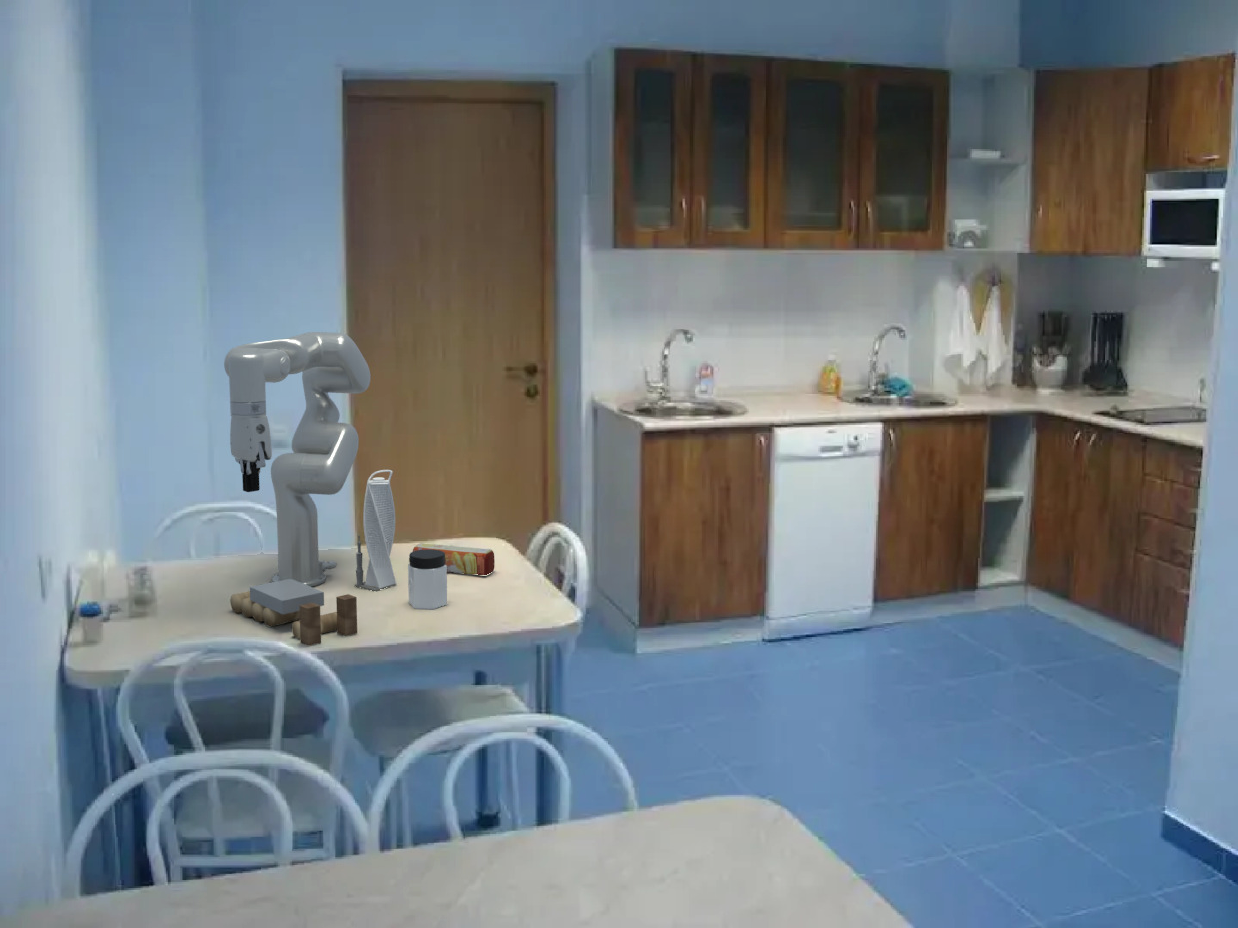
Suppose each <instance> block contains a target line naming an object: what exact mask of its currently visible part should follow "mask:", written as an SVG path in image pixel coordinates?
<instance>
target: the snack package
mask: <svg viewBox="0 0 1238 928" xmlns="http://www.w3.org/2000/svg"><path fill="white" fill-rule="evenodd" d="M426 549H431V550H440V551H443V552H444V553H445V565H446V566H447V573H451V572H454V573H453V574H460V573H464V574H463V575H467V574H478V575H487V574H489V573H491V572H492V573H493V572H494V570H495V567H496V565H495V563H496V562H495V551H494V550H493V549H491V548H479V547H470V546H469V547H466V546H456V545H455V546H454V545H443V544H437V543H435V544H434V543H433V544H432V543H431V544H430V543H424V542H420V543H418V544H416V545H415V546H414V547H413V549H412V551H411V552H413V551H417V550H426ZM492 573H491V574H492Z"/></svg>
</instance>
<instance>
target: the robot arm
mask: <svg viewBox="0 0 1238 928" xmlns="http://www.w3.org/2000/svg"><path fill="white" fill-rule="evenodd" d="M223 365H224V371H225V374H226V375H227V376H228V381H229V383H228V385H229V402H230V403H229V404H230V432H229V433H230V434H229V435H230V439H229V441H230V442H229V443H230V452H231V456H232V457H234V459H235V462H236V463H238V464H239V466H240V472H241V474H242V475H241V476H242V477H241V478H242V479H241V480H242V491H243V492H246V493H252V492H258V491H260V473H261V469H262V468H265V467H266V461H269V460H271V459H272V458H273V457H272V455H273V451H272V449H273V448H272V439H271V438H272V437H271V431H270V425H269V420H268V416H267V402H266V401H267V400H266V399H267V397H266V393H267V392H266V383H280V382H282V381H284V380H285V379H286V378H287V377H288V376H289V375H295V374H299V373H302V375H301V377H302V378H301V379H302V386H303V392H304V393H303V395H304V399H305V410H304V412H303V414H302V417H301V419H300V421H299V423H298V425H297V427H296V429H295V431H294V434H293V437H292V440H291V450H292V452H287V453H282V454H280V455H278V456H277V457H276V458H274V460H273V461H272V464H271V467H270V475H271V476H270V478H271V482H272V487H273V492H274V496H275V497H274V498H275V508H276V531H277V533H276V534H277V535H276V537H277V559H278V560H277V562H278V566H277V567H278V573H277V574H275V575H274V576H273V577H272V578H271V579H272V580H271V582H277V581H282V580H287V579H293V580H295V581H298V582H300V583H303V584H305V585H307V586H310V587H312V588H313V587H316V586H319V585H322V584H323V583H325V582H326V577H327V576H326V574H325V573H324V572H326V570H332V569H336V568H337V563H336V561H335V560H330V561H325V560H320V557H319V556H320V555H319V530H318V529H319V525H318V523H319V522H318V521H319V520H318V509H317V506H316V504H315V501H314V499H313V498H312V496H311V495H326V496H327V495H330V496H331V495H336V494H338V493H340V491H341V490H342V489H343V487H344V485H345V483H346V481H347V479H348V476H349V474H350V471H351V469H352V467H353V464H354V462H355V459H356V457H357V455H358V454H357V453H358V451H359V443H360V442H359V435H358V432H357V429H356V428H355V426H353V425H352V424H350V423H346V422H339V421H340V416H341V415H340V414H341V413H340V411H339V408H338V407H337V405H336V404H335V402H334V401H333V399H332V398H331V397H330V395H329V393H330V394H332V393H336V394H355V395H358V394H361V393H364V392H365V391H367V390H368V388H369V386H370V384H371V377H372V376H371V372H370V368H369V365H368V362H367V361H366V359H365V357H364V356H363V354H362V352H361V351H360V349H359V347H358V345H357V344H356V343H355V342H354V340H353V339H352V338H351V337H350V336H349V335H347V334H345V333H342V332H323V331H321V332H320V331H310V332H305V333H301V334H298V335H295V336H294V335H293V336H290V337H286V338H280V339H273V340H266V341H259V342H251V343H246V344H241V345H237V346H234V347H232V348H231V349H230V350H229V351H228V352H227V353H226V355H225V357H224V362H223Z"/></svg>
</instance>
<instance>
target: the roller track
mask: <svg viewBox="0 0 1238 928" xmlns="http://www.w3.org/2000/svg"><path fill="white" fill-rule="evenodd" d="M229 602H230V607H231V609H232V612H234V613H236V614H238V613H239V614H240V613H242V615H243V616H244V617H245V618H246V619H247V618H253V619H254V621H255V622H257V623H261V622H264V624H265V625H266V626H267V627H269V628H270V627H274V626H278V625H283V624H287V623H291V622H296V621H300V611H296V612H292V613H287V614H280V613H278V612H276V611H274V610H271V609H269V608H267V607H265V606H262V605H260V604H258V603H256V602H253V601H251V600H250V590H248V591H244V592H240V593H239V592H238V593H236V594H232V595H231V596H230V599H229Z"/></svg>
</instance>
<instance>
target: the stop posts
mask: <svg viewBox="0 0 1238 928" xmlns="http://www.w3.org/2000/svg"><path fill="white" fill-rule="evenodd" d="M335 599H336V600H335V601H336V612H337V630H336V632H337V633H336V634H338V635H340V636H344V637H348V636H352V635H356V634H358V610H357V609H358V606H357V605H358V604H357V603H358V602H357V601H358V600H357V596H355V595H352V594H350V593H347V594H343V595H339V596H336V598H335ZM299 607H300V620H299V621H300V639H299V640H300V643H301V644H303V645H305V646H308V647H310V646H314V645H318V644H321V643H322V634H321V619H320V616H321V606H320V605H317V604H314V603H308V604H304V605H299Z"/></svg>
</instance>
